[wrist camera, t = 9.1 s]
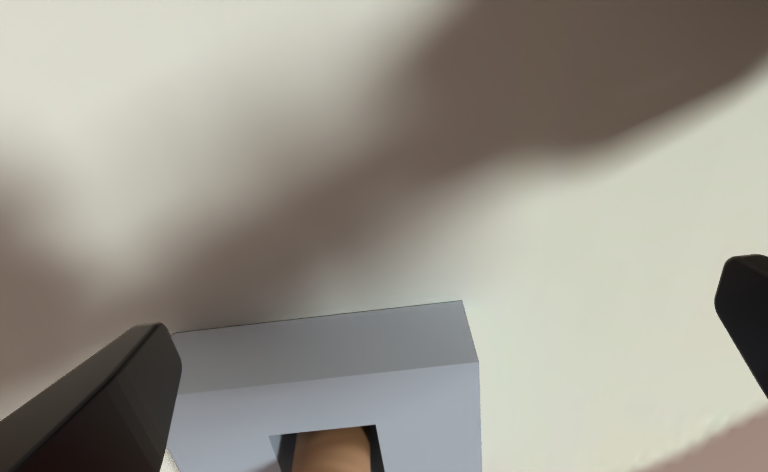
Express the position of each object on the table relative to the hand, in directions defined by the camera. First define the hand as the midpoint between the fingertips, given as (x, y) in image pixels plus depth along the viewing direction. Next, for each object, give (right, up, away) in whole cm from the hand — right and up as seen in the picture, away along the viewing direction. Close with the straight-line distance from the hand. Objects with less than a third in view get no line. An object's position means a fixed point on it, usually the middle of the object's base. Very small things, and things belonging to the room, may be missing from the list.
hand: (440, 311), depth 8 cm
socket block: (-4, -7, +18) cm, 20 cm away
